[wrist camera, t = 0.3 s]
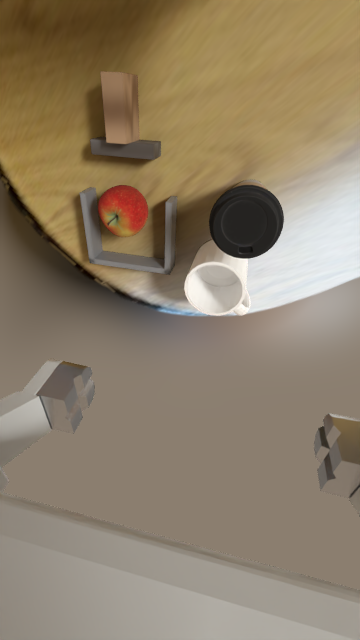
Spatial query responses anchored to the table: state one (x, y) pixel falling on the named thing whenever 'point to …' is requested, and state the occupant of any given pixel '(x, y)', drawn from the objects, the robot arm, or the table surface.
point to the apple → (123, 210)
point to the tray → (122, 259)
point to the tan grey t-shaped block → (122, 120)
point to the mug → (217, 282)
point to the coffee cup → (246, 220)
